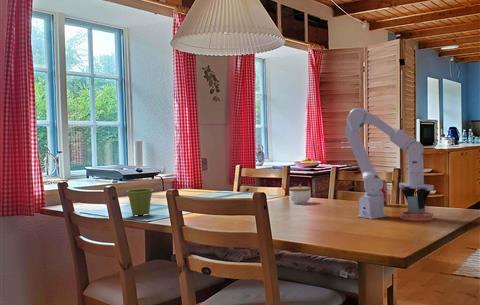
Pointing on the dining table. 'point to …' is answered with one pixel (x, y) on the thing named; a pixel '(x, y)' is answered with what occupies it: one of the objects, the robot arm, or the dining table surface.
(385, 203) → the soda can
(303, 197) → the lidded jar
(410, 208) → the slate block
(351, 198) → the dining table surface
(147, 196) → the plant pot
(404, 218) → the terracotta dish
